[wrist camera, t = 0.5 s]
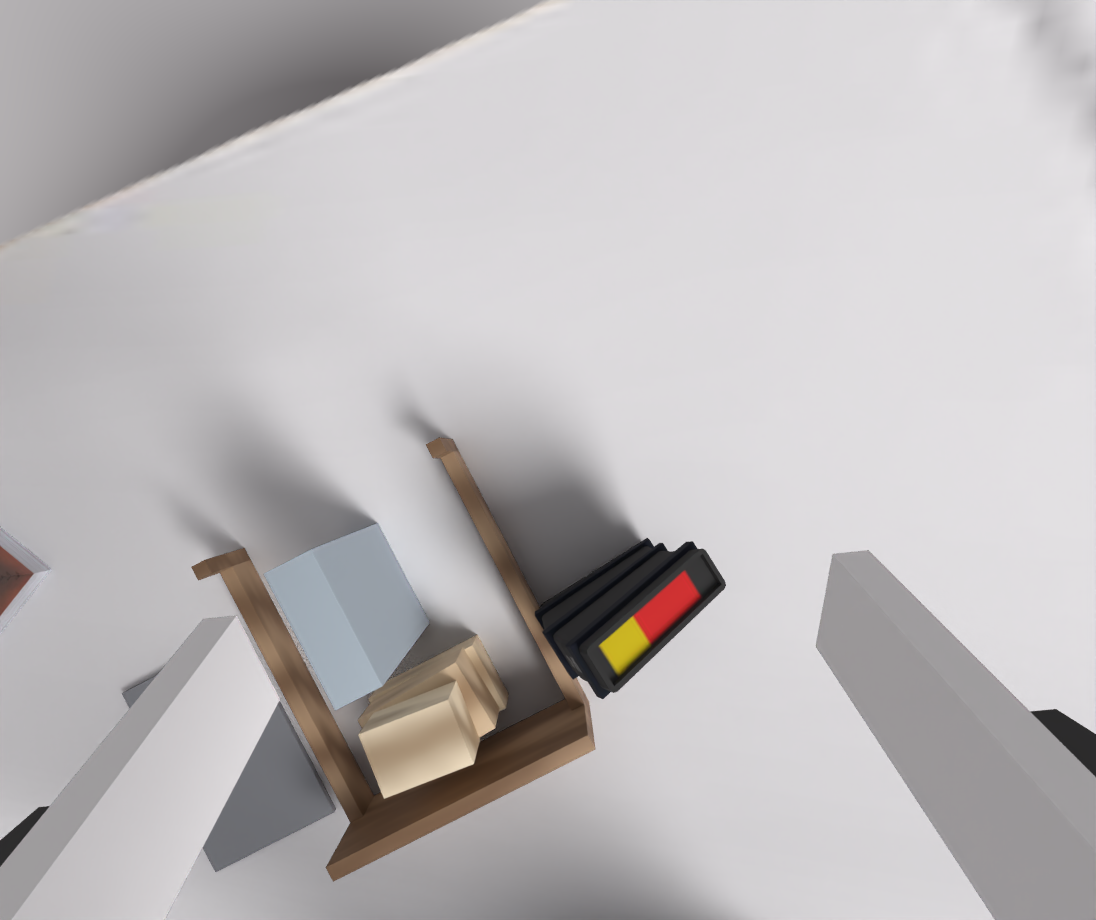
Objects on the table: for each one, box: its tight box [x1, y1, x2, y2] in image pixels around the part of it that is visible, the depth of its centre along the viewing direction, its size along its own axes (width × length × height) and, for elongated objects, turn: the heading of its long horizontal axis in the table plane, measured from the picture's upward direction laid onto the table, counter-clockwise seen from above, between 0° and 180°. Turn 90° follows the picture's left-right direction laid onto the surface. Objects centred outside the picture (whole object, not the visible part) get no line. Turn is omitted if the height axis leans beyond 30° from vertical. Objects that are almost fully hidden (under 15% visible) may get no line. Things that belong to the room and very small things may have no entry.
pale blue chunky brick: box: [264, 523, 430, 710], centre depth 38 cm, size 10×4×12 cm, turn 27°
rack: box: [192, 438, 595, 881], centre depth 40 cm, size 26×22×7 cm
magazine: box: [535, 538, 726, 699], centre depth 38 cm, size 4×13×15 cm, turn 122°
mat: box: [122, 676, 336, 872], centre depth 44 cm, size 18×12×1 cm, turn 27°
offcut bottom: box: [368, 635, 509, 712], centre depth 43 cm, size 6×10×3 cm, turn 118°
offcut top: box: [358, 681, 480, 799], centre depth 37 cm, size 5×7×3 cm
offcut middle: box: [358, 647, 500, 738], centre depth 40 cm, size 6×9×3 cm, turn 121°
